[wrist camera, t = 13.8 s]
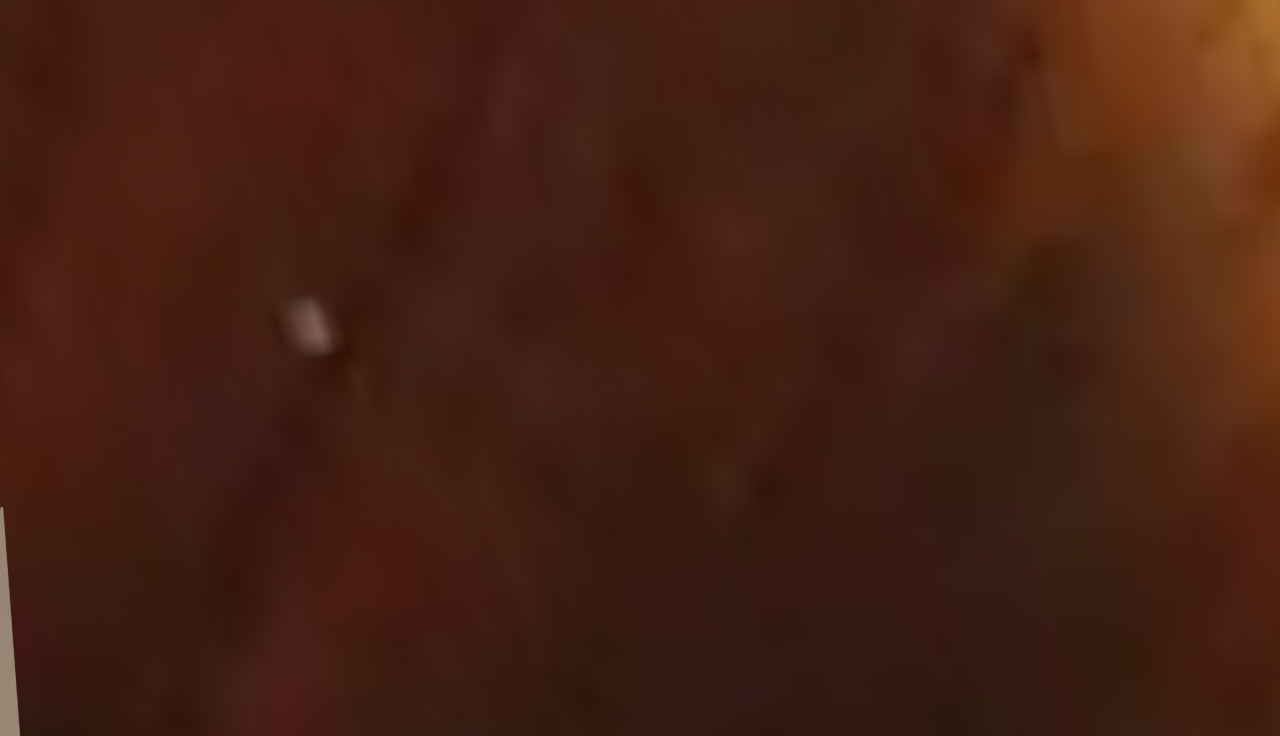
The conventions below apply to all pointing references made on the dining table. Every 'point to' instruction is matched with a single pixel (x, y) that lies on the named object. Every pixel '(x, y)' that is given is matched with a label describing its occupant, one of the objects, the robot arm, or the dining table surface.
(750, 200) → the dining table surface
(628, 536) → the dining table surface
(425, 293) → the dining table surface
